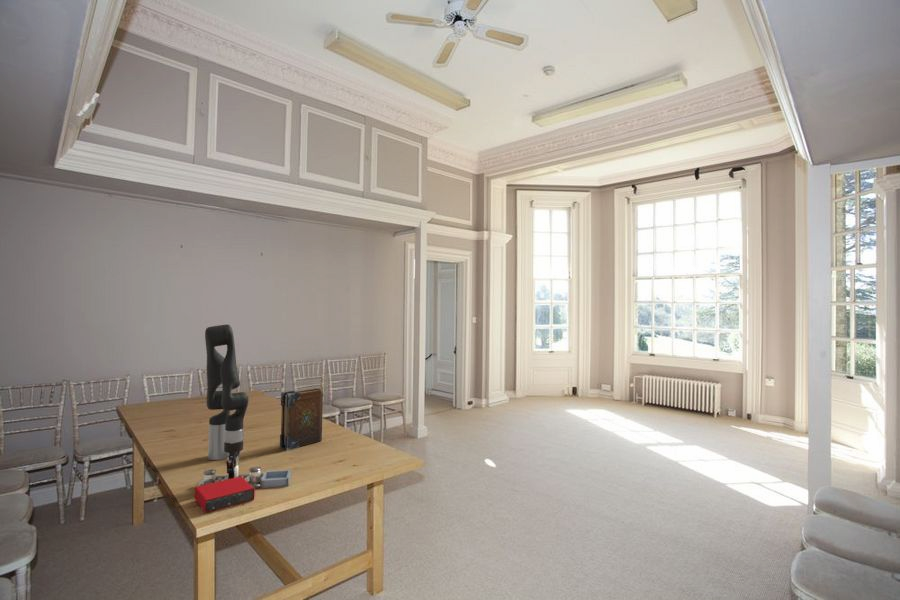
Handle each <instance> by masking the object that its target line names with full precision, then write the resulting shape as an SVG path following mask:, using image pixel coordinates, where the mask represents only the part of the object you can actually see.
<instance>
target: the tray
mask: <svg viewBox="0 0 900 600" xmlns="http://www.w3.org/2000/svg"><path fill="white" fill-rule="evenodd" d="M263 473H264V474H263V476H261V478H260V481H261V485H260V489H262V488H263V489H264V488H275V487H276V488H278V487H280V488H281V487H289V484H290V481H291V478H292V470H291V469H281V470H266V471H265V470H264V472H263Z"/></svg>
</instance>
